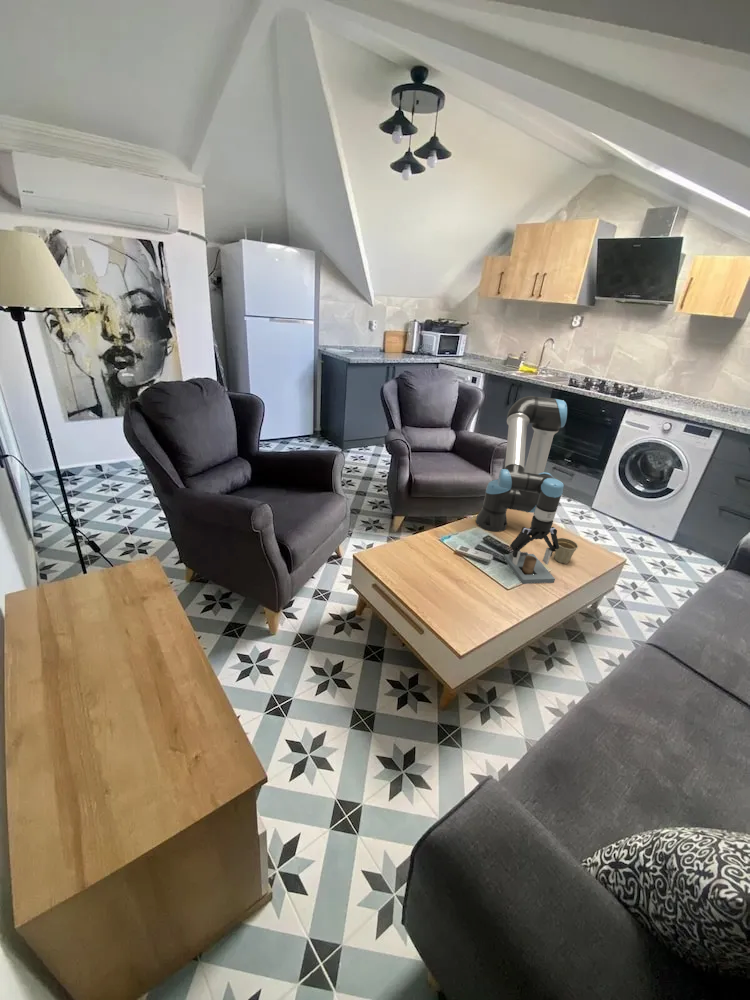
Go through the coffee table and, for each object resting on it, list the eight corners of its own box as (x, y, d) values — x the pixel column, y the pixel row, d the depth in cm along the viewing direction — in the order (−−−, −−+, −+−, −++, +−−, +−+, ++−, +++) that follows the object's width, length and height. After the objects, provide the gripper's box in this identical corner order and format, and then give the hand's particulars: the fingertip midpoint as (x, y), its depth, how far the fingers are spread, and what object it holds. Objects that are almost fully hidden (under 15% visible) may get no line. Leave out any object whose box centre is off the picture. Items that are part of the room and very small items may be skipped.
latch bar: (508, 557, 180) (510, 551, 178) (525, 557, 181) (527, 551, 180) (511, 561, 177) (513, 555, 176) (529, 561, 178) (530, 555, 177)
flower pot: (548, 561, 183) (554, 544, 180) (551, 551, 191) (556, 535, 187) (571, 568, 180) (577, 551, 176) (573, 558, 187) (578, 541, 184)
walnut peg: (518, 571, 174) (523, 555, 171) (528, 571, 175) (533, 555, 172) (523, 577, 170) (528, 561, 167) (533, 577, 171) (538, 561, 168)
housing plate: (503, 558, 182) (504, 554, 182) (532, 557, 185) (533, 553, 184) (522, 583, 167) (523, 579, 166) (553, 582, 169) (555, 578, 168)
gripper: (518, 522, 155) (505, 569, 165) (577, 522, 160) (562, 567, 169) (509, 513, 162) (497, 558, 171) (567, 513, 166) (552, 557, 176)
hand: (529, 563), depth 170 cm, fingers open, 13 cm apart
